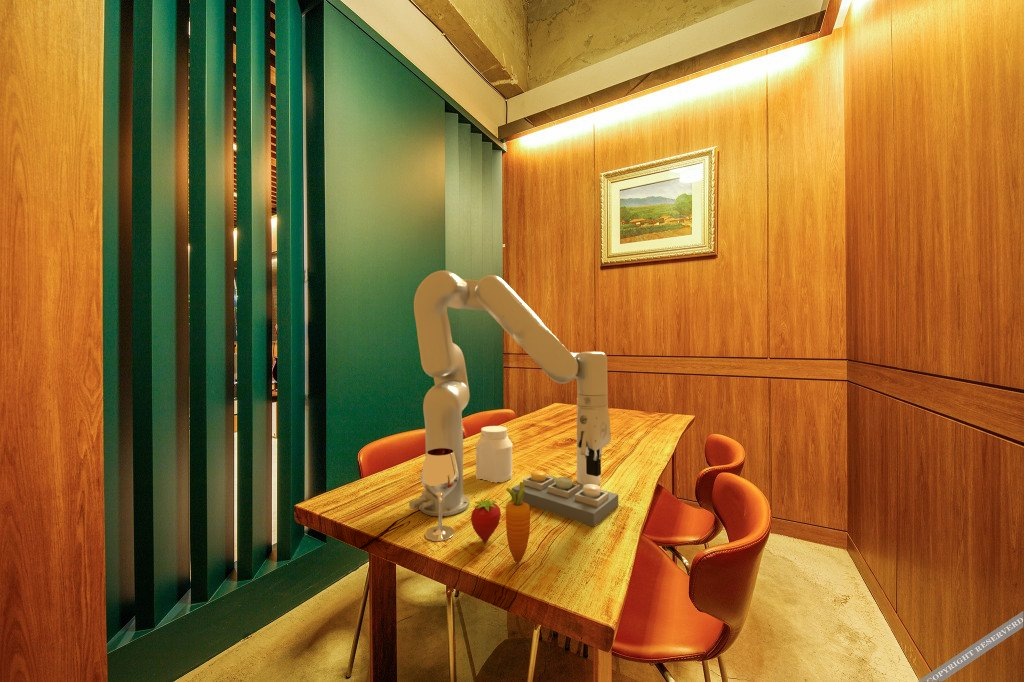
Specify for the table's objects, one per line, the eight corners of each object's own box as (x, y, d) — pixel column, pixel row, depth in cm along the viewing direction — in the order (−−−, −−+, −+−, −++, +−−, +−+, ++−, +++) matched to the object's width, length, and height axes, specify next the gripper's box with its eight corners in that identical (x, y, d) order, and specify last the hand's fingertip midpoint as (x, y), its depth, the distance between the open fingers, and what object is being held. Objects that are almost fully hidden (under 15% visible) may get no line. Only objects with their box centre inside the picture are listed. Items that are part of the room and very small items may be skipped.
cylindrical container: (602, 485, 110) (603, 400, 110) (578, 485, 110) (578, 400, 110) (597, 477, 117) (598, 397, 117) (575, 476, 117) (575, 397, 117)
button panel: (593, 526, 85) (593, 507, 85) (511, 499, 100) (511, 482, 100) (618, 506, 96) (618, 489, 96) (540, 484, 111) (540, 469, 111)
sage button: (566, 490, 95) (566, 484, 95) (552, 486, 98) (552, 480, 98) (574, 485, 99) (574, 479, 99) (561, 481, 101) (561, 475, 101)
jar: (517, 474, 119) (517, 427, 119) (503, 484, 111) (503, 434, 111) (485, 469, 124) (486, 424, 124) (470, 478, 116) (470, 430, 116)
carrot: (510, 573, 68) (511, 491, 68) (500, 559, 73) (501, 481, 73) (535, 567, 70) (535, 486, 70) (523, 553, 75) (524, 478, 75)
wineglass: (445, 521, 88) (445, 444, 88) (466, 533, 82) (466, 451, 82) (413, 533, 82) (414, 451, 82) (434, 548, 76) (434, 459, 76)
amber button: (540, 482, 100) (540, 476, 100) (528, 479, 103) (528, 473, 103) (549, 478, 104) (549, 472, 104) (536, 475, 106) (536, 469, 106)
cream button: (595, 498, 90) (595, 491, 90) (580, 494, 93) (580, 487, 93) (603, 493, 94) (603, 486, 94) (588, 488, 96) (588, 482, 96)
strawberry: (506, 536, 81) (506, 490, 81) (489, 553, 74) (489, 503, 74) (483, 530, 84) (483, 485, 84) (464, 546, 77) (464, 498, 77)
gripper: (592, 406, 85) (594, 487, 85) (618, 398, 97) (619, 469, 97) (564, 403, 90) (565, 480, 90) (592, 396, 102) (593, 463, 102)
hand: (593, 474), depth 93 cm, fingers closed
